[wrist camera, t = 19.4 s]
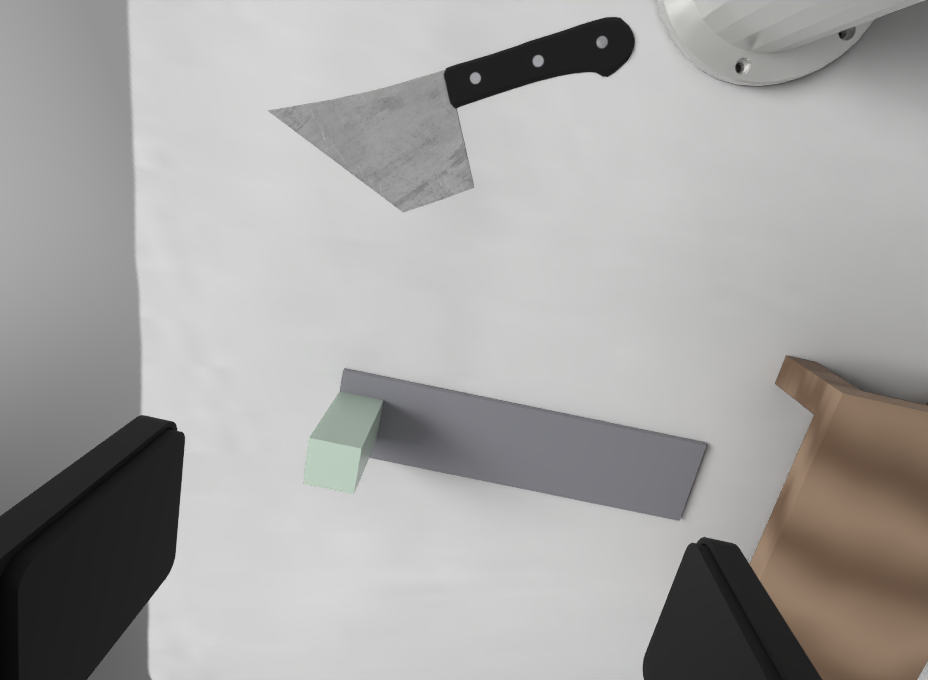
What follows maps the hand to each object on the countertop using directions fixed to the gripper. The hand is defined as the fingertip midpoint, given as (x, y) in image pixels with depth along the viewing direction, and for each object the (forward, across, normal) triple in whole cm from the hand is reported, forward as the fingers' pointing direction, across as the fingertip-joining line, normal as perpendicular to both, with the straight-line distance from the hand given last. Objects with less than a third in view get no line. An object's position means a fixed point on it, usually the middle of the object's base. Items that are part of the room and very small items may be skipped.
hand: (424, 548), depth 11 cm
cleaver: (+29, +6, -6) cm, 30 cm away
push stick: (+29, -6, +11) cm, 31 cm away
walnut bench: (+28, -27, +11) cm, 41 cm away
